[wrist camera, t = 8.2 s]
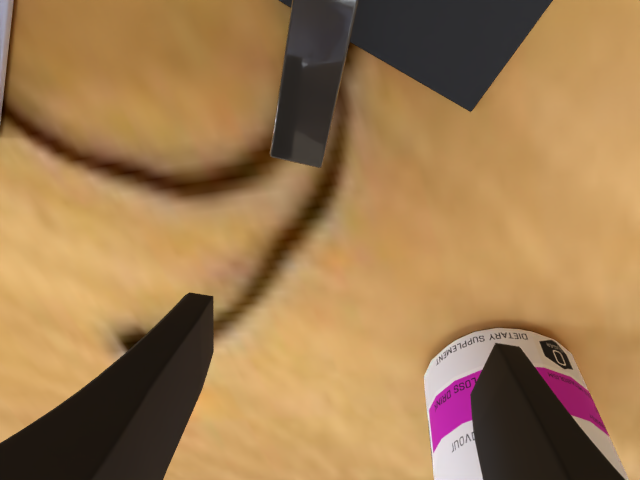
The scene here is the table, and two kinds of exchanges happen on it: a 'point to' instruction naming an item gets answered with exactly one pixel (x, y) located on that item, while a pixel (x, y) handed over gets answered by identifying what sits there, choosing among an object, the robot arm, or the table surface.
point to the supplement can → (460, 378)
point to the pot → (311, 78)
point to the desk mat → (446, 40)
